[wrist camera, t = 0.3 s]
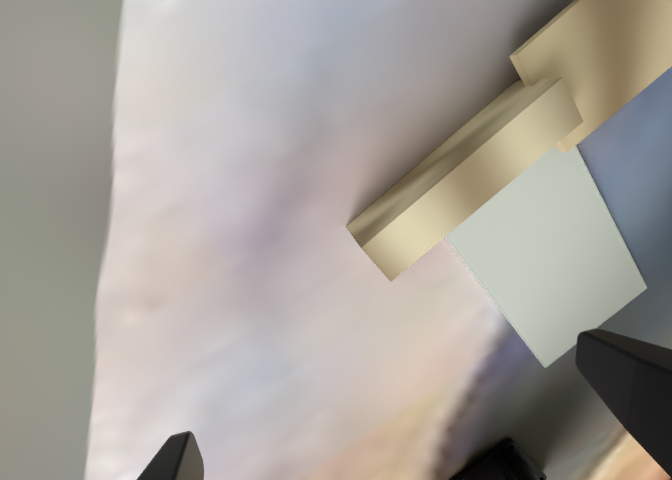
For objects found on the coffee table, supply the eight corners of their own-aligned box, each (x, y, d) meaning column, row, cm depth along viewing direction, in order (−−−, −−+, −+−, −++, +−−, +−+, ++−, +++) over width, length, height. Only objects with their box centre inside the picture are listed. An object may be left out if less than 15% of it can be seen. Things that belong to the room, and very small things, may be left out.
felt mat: (642, 285, 27) (647, 288, 27) (541, 364, 28) (545, 368, 28) (563, 130, 22) (568, 130, 22) (441, 232, 23) (444, 234, 22)
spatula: (388, 275, 23) (410, 303, 20) (325, 203, 21) (338, 222, 18) (653, 54, 22) (722, 46, 19) (616, -49, 20) (688, -79, 16)
